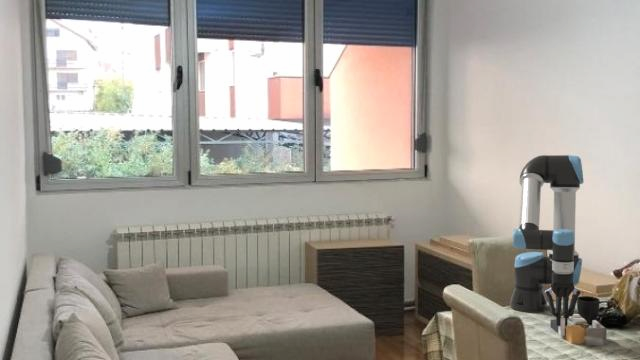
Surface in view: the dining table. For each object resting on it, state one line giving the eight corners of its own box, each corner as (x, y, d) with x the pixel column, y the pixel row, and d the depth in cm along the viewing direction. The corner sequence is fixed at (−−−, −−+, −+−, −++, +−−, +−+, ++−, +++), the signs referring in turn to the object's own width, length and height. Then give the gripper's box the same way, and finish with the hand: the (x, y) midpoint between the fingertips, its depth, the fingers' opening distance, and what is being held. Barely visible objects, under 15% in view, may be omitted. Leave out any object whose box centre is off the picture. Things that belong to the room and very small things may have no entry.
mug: (610, 327, 269) (611, 303, 268) (577, 324, 273) (577, 301, 272) (608, 320, 277) (608, 297, 276) (576, 318, 281) (576, 295, 280)
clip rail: (565, 326, 271) (566, 311, 271) (583, 326, 271) (584, 311, 271) (586, 345, 250) (586, 329, 249) (606, 345, 250) (606, 328, 249)
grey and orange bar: (550, 327, 271) (550, 314, 270) (562, 326, 271) (563, 314, 271) (571, 343, 252) (571, 330, 252) (585, 343, 252) (585, 329, 252)
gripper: (548, 274, 252) (546, 337, 255) (584, 274, 252) (582, 337, 255) (541, 269, 260) (540, 331, 262) (577, 269, 260) (575, 330, 262)
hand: (561, 334), depth 259 cm, fingers closed
